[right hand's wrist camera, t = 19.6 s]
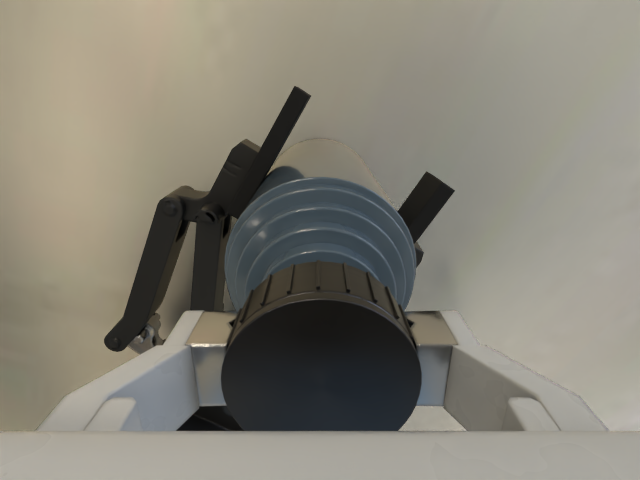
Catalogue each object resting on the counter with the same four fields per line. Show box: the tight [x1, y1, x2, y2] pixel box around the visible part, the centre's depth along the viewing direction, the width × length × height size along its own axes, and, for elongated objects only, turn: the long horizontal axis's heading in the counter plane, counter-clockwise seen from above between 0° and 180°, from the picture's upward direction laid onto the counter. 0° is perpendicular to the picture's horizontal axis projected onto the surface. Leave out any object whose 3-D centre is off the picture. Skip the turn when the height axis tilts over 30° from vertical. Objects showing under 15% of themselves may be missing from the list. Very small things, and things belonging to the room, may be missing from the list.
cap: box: [221, 260, 422, 431], centre depth 9 cm, size 5×5×2 cm
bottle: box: [224, 138, 416, 311], centre depth 17 cm, size 7×7×18 cm
